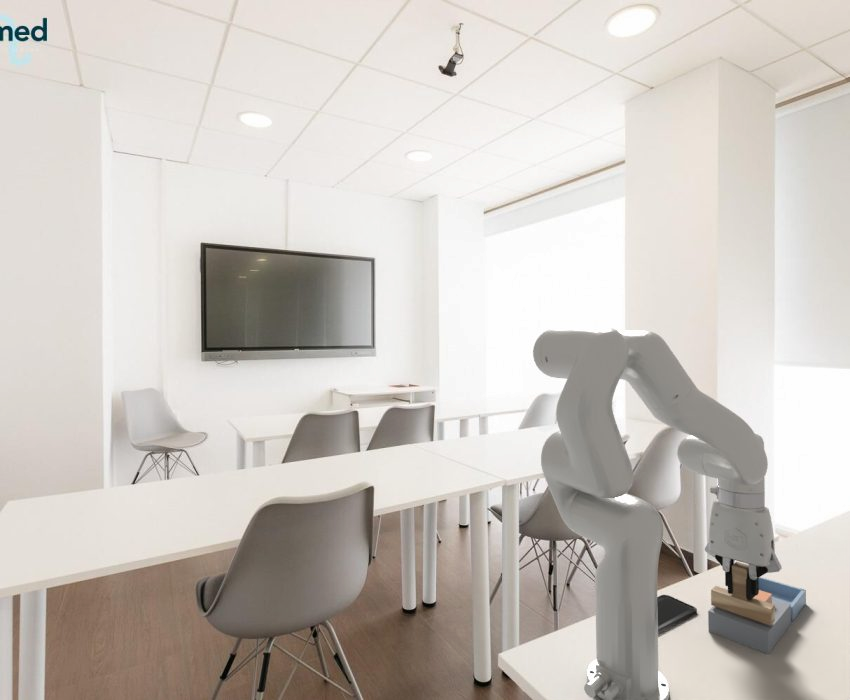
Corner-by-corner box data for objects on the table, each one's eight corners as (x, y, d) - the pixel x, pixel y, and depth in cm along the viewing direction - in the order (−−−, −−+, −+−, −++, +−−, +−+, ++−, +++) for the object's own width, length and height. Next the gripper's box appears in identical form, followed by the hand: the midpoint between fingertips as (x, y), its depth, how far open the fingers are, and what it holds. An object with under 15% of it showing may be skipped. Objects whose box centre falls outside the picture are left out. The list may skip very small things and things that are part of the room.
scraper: (770, 625, 93) (770, 576, 93) (711, 605, 101) (710, 559, 100) (774, 620, 95) (774, 572, 95) (716, 600, 102) (715, 555, 102)
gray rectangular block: (768, 654, 92) (768, 632, 92) (708, 631, 100) (708, 610, 100) (790, 624, 101) (790, 604, 101) (734, 605, 109) (734, 586, 109)
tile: (763, 613, 98) (763, 602, 98) (734, 603, 102) (734, 593, 102) (771, 603, 102) (771, 593, 102) (743, 594, 105) (743, 585, 105)
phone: (699, 609, 107) (654, 632, 99) (699, 614, 107) (654, 638, 99) (664, 593, 113) (619, 614, 105) (664, 598, 113) (619, 619, 105)
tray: (792, 622, 102) (792, 607, 102) (736, 603, 110) (736, 589, 110) (805, 604, 109) (805, 590, 109) (752, 587, 116) (751, 574, 116)
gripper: (688, 493, 101) (689, 586, 101) (785, 513, 89) (786, 618, 89) (703, 485, 106) (704, 574, 106) (797, 502, 94) (798, 603, 94)
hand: (741, 593), depth 98 cm, fingers closed on scraper, 2 cm apart
